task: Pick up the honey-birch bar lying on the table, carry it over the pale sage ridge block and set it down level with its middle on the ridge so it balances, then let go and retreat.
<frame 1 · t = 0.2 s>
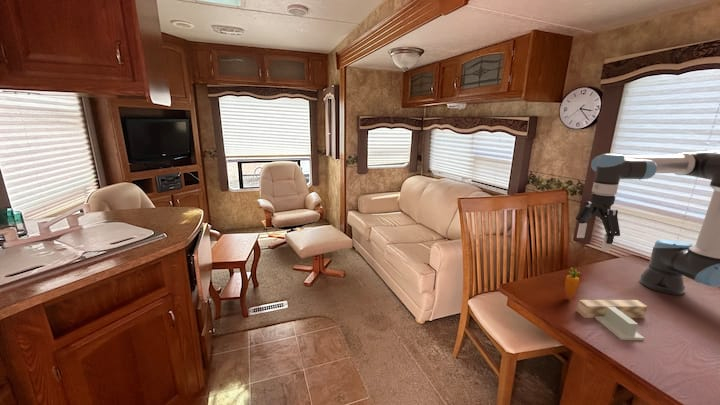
hand: (592, 243, 120), 27 cm above the table, fingers open, 13 cm apart
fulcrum: (618, 328, 110), on the table
birch bar: (609, 314, 119), on the table
carrot: (568, 299, 129), on the table
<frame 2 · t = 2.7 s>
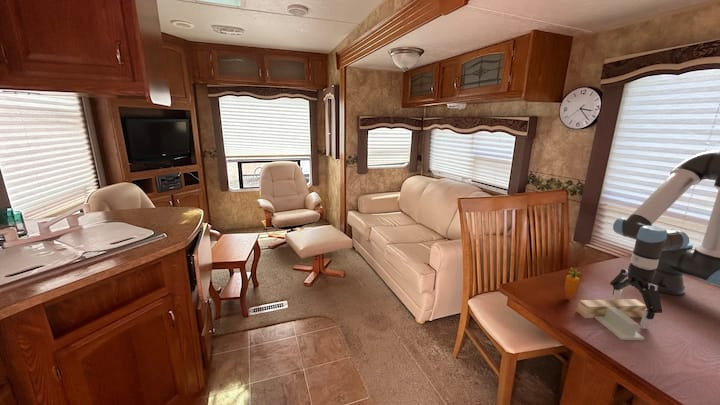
hand: (629, 313, 117), 1 cm above the table, fingers open, 13 cm apart
nothing on the table moved.
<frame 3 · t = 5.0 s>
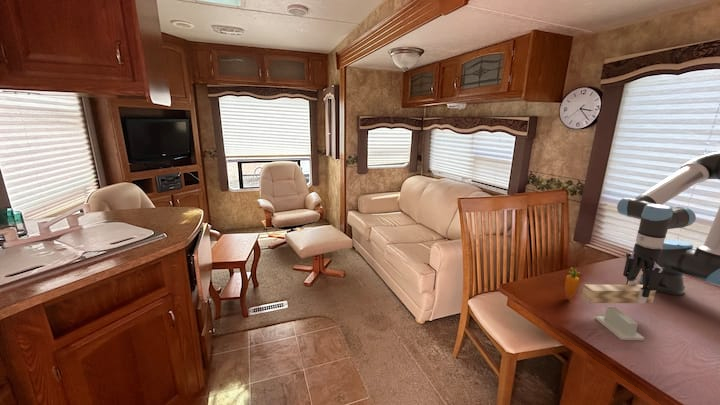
hand: (634, 298, 116), 8 cm above the table, fingers closed on birch bar, 4 cm apart
birch bar: (616, 299, 116), point 7 cm above the table, touching gripper
everything else where it was.
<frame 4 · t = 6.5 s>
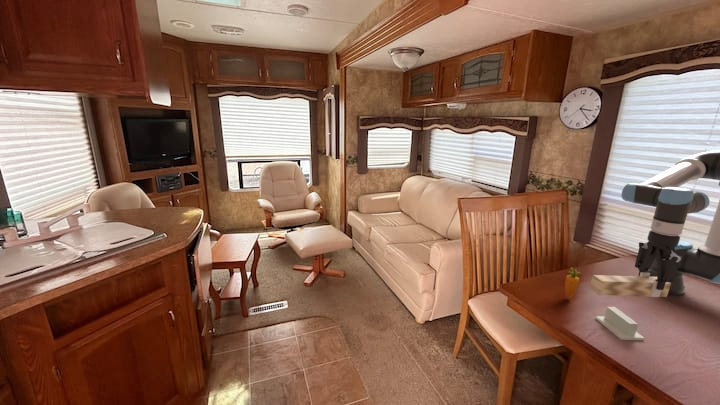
hand: (647, 292, 106), 16 cm above the table, fingers closed on birch bar, 4 cm apart
birch bar: (627, 292, 106), point 15 cm above the table, touching gripper
everything else where it was.
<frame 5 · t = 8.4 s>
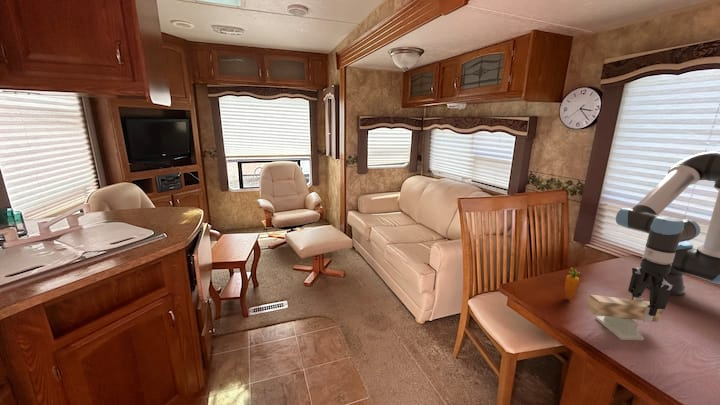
hand: (640, 316, 109), 5 cm above the table, fingers closed on birch bar, 4 cm apart
birch bar: (621, 314, 108), point 6 cm above the table, tilted 7°, touching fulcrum, gripper
everything else where it was.
when the fingers open (5 cm above the table, at t = 8.9 s): birch bar stays where it is, resting on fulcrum.
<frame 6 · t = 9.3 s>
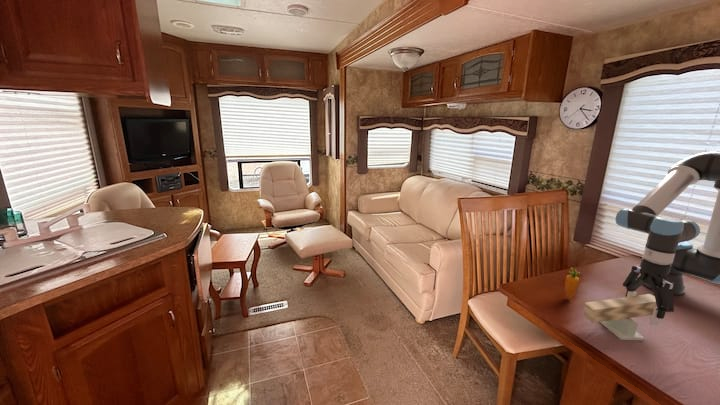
hand: (640, 315, 108), 6 cm above the table, fingers open, 10 cm apart
birch bar: (621, 314, 108), point 6 cm above the table, tilted 10°, touching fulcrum
everything else where it was.
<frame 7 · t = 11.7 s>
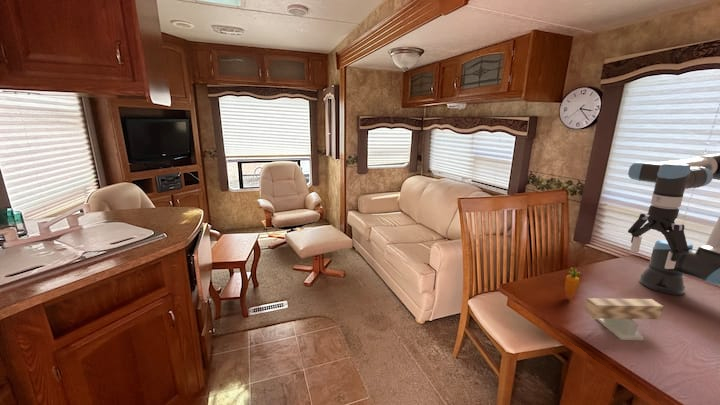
hand: (650, 259, 111), 25 cm above the table, fingers open, 13 cm apart
birch bar: (621, 315, 108), point 6 cm above the table, touching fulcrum
everything else where it was.
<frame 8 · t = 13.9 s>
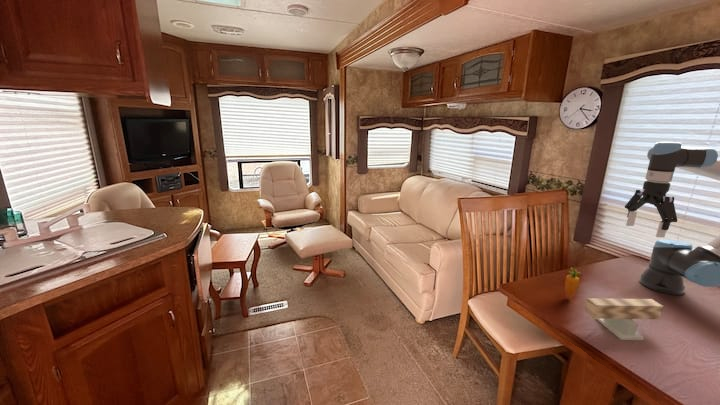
hand: (644, 231, 122), 32 cm above the table, fingers open, 13 cm apart
nothing on the table moved.
at the end: birch bar 0.3 cm off-centre on the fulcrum, point 6.0 cm above the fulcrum's base; birch bar tilted 0°; birch bar touching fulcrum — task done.
